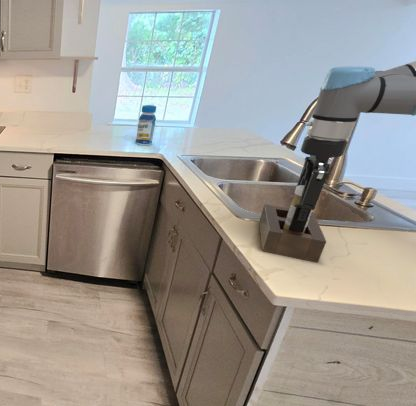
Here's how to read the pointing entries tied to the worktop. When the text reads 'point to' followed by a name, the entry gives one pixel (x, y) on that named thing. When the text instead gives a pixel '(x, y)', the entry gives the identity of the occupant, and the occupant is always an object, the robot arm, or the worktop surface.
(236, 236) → the worktop surface
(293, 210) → the sprinkles bottle
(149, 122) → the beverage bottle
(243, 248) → the worktop surface
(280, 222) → the spice stand
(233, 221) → the worktop surface
